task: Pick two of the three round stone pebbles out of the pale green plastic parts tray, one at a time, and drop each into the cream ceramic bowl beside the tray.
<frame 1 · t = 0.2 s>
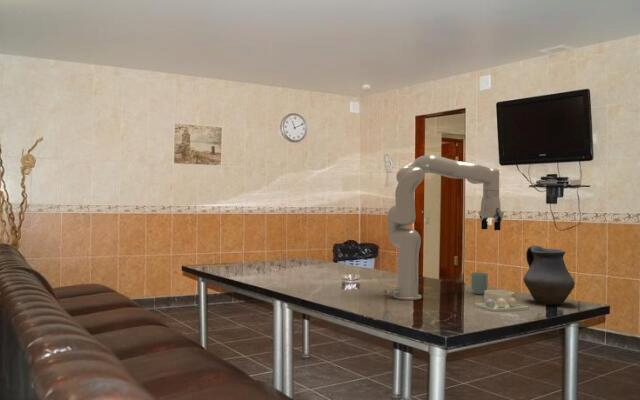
hand: (490, 229, 259), 31 cm above the table, fingers open, 9 cm apart
pebble c: (512, 307, 223), resting on tray
pebble a: (490, 308, 219), resting on tray
cup: (479, 294, 258), on the table
pitcher: (546, 303, 235), on the table
pebble b: (501, 307, 221), resting on tray
tray: (501, 308, 221), on the table
bowl: (499, 302, 236), on the table
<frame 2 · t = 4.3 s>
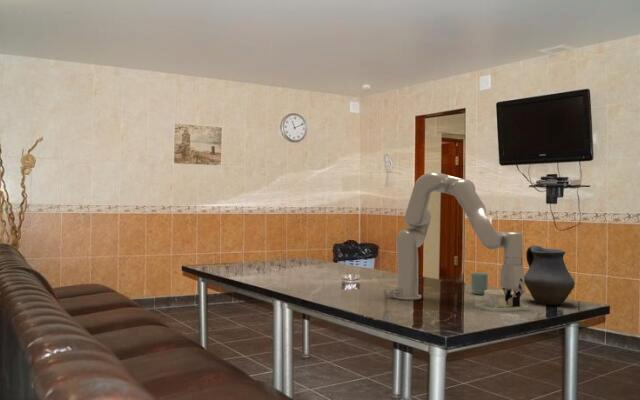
hand: (512, 305, 223), 1 cm above the table, fingers closed on pebble c, 4 cm apart
pebble c: (512, 307, 223), resting on tray, touching gripper
everything else where it was.
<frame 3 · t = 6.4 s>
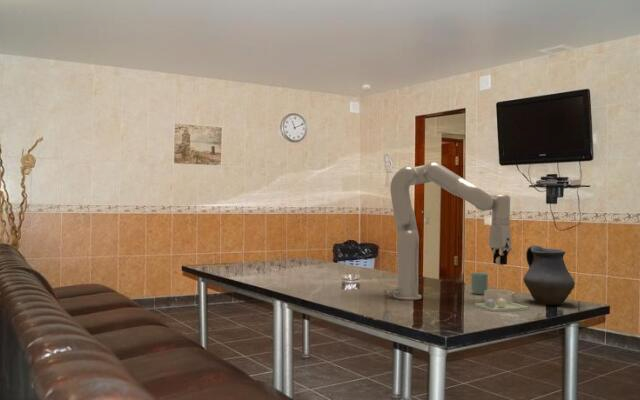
hand: (500, 263, 237), 17 cm above the table, fingers closed on pebble c, 4 cm apart
pebble c: (500, 265, 237), point 16 cm above the table, touching gripper
everything else where it was.
when the fingers open (5 cm above the table, at t = 8.7 s): pebble c drops 3 cm, resting on bowl.
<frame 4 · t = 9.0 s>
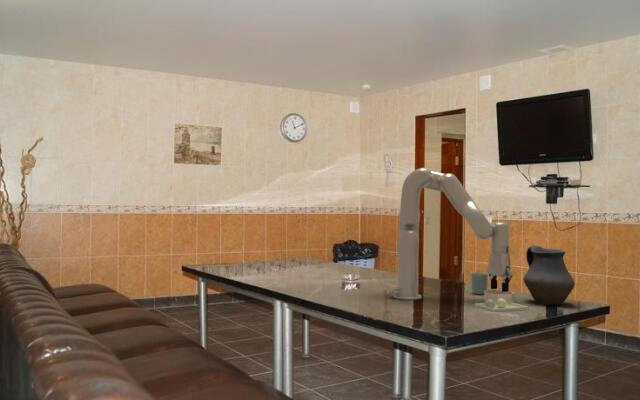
hand: (499, 289, 237), 5 cm above the table, fingers open, 7 cm apart
pebble c: (499, 300, 237), resting on bowl
everything else where it was.
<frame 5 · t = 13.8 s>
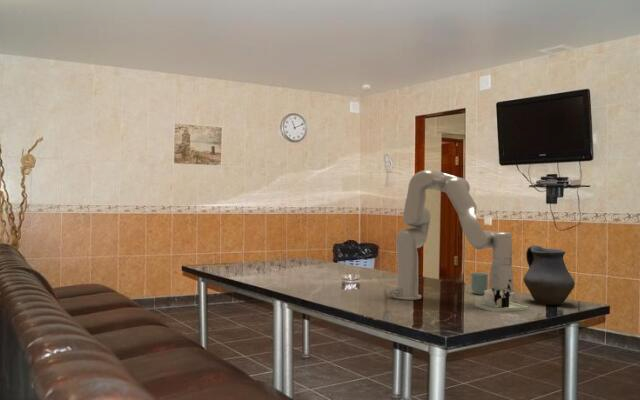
hand: (501, 305, 221), 1 cm above the table, fingers closed on pebble b, 4 cm apart
pebble b: (501, 307, 221), resting on tray, touching gripper
everything else where it was.
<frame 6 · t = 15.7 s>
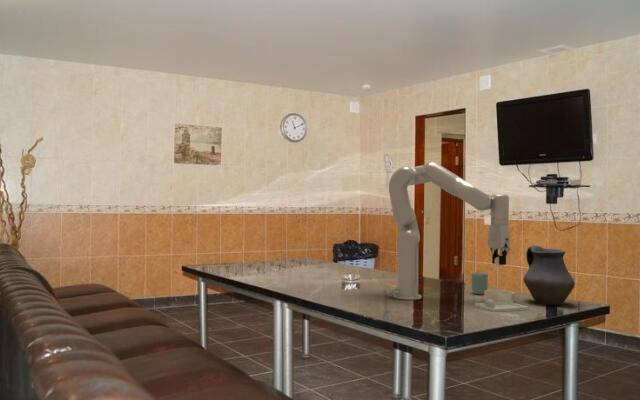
hand: (499, 263, 235), 17 cm above the table, fingers closed on pebble b, 4 cm apart
pebble b: (499, 265, 235), point 16 cm above the table, touching gripper
everything else where it was.
when the fingers open (5 cm above the table, at t = 18.0 s): pebble b drops 2 cm and tips over, resting on bowl.
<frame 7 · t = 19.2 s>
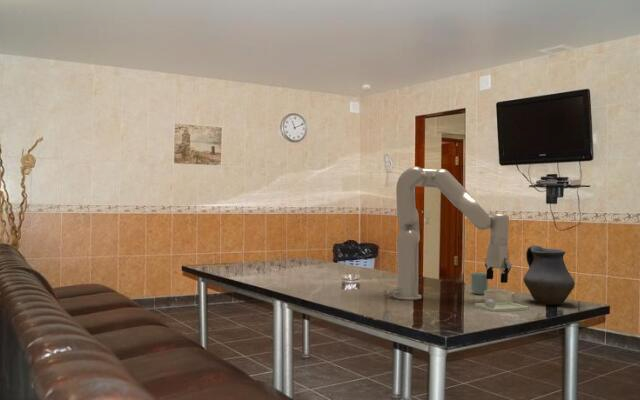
hand: (496, 280, 235), 10 cm above the table, fingers open, 9 cm apart
pebble c: (496, 295, 238), point 3 cm above the table, tilted 91°, touching bowl
pebble b: (499, 299, 236), point 1 cm above the table, tilted 56°, touching bowl
everything else where it was.
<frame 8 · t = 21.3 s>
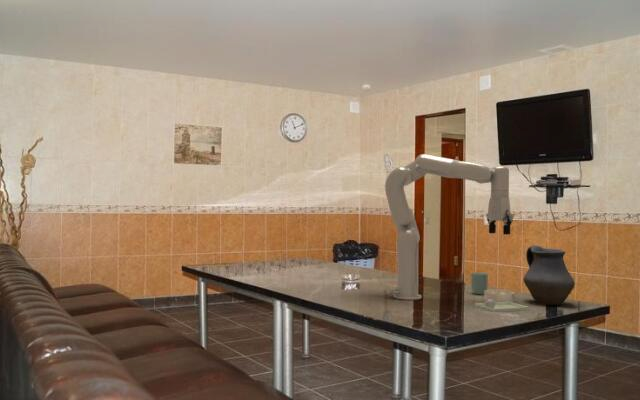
hand: (499, 233, 235), 30 cm above the table, fingers open, 9 cm apart
pebble c: (497, 296, 238), point 2 cm above the table, tilted 80°, touching bowl
pebble b: (499, 300, 237), point 1 cm above the table, tilted 34°, touching bowl
everything else where it was.
at the end: pebble c inside the target area on the bowl (2.0 cm from its centre), point 2.1 cm above the bowl's base; pebble b inside the target area on the bowl (0.6 cm from its centre), point 0.9 cm above the bowl's base; pebble a moved 0.1 cm from its start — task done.
